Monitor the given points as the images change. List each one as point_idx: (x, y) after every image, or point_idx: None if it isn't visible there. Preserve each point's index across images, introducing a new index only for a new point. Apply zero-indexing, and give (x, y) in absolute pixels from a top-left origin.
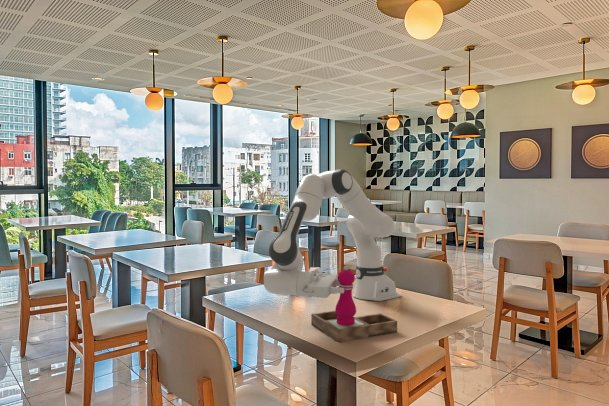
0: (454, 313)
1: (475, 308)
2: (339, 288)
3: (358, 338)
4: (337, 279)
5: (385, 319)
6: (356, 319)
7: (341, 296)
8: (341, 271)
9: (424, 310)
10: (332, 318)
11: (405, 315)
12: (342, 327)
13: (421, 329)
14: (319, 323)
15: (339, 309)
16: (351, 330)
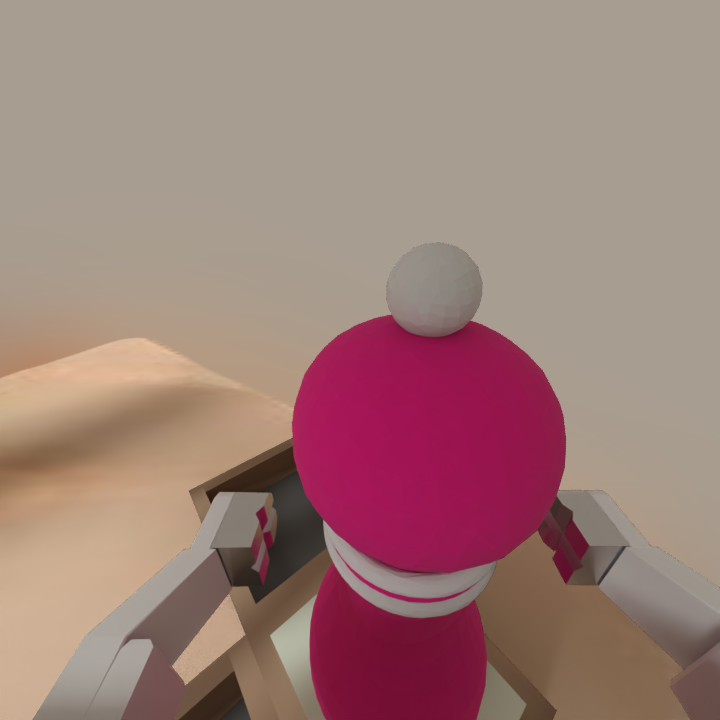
0: (150, 365)
1: (128, 342)
2: (638, 541)
3: None
4: (69, 702)
5: (249, 477)
6: (289, 603)
7: (461, 610)
8: (496, 380)
9: (90, 408)
10: None
11: (120, 448)
12: (495, 678)
13: (270, 413)
14: None
15: (484, 679)
16: None
